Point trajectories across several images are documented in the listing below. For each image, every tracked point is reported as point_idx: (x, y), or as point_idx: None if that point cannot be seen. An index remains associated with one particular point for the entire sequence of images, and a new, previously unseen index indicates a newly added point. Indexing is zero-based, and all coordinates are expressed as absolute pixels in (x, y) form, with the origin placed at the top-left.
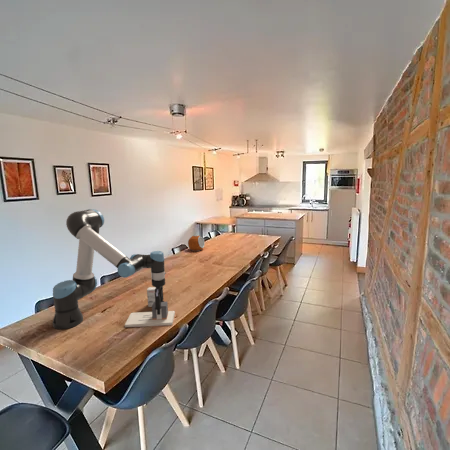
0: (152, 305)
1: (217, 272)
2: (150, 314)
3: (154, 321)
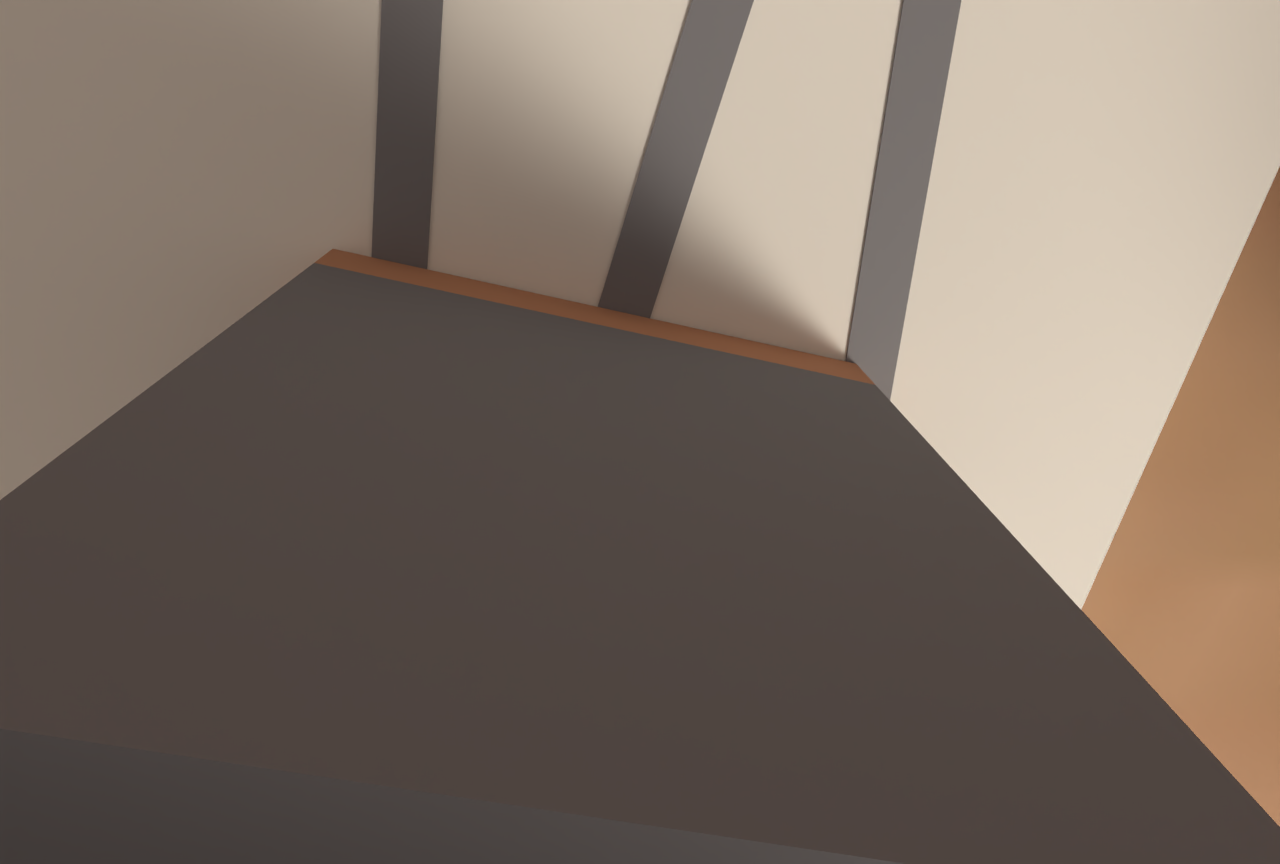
0: (240, 786)
1: None
2: (973, 168)
3: (141, 335)
